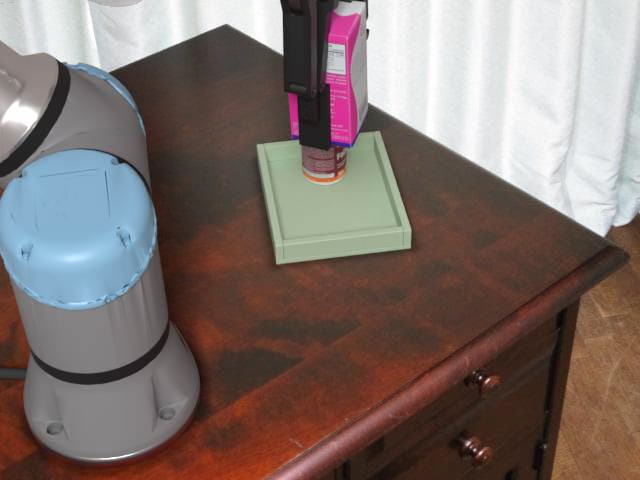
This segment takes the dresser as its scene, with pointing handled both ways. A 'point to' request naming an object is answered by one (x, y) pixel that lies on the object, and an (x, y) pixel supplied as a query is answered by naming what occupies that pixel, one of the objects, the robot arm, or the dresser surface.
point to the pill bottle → (324, 165)
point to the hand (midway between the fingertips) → (329, 123)
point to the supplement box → (344, 75)
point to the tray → (332, 204)
